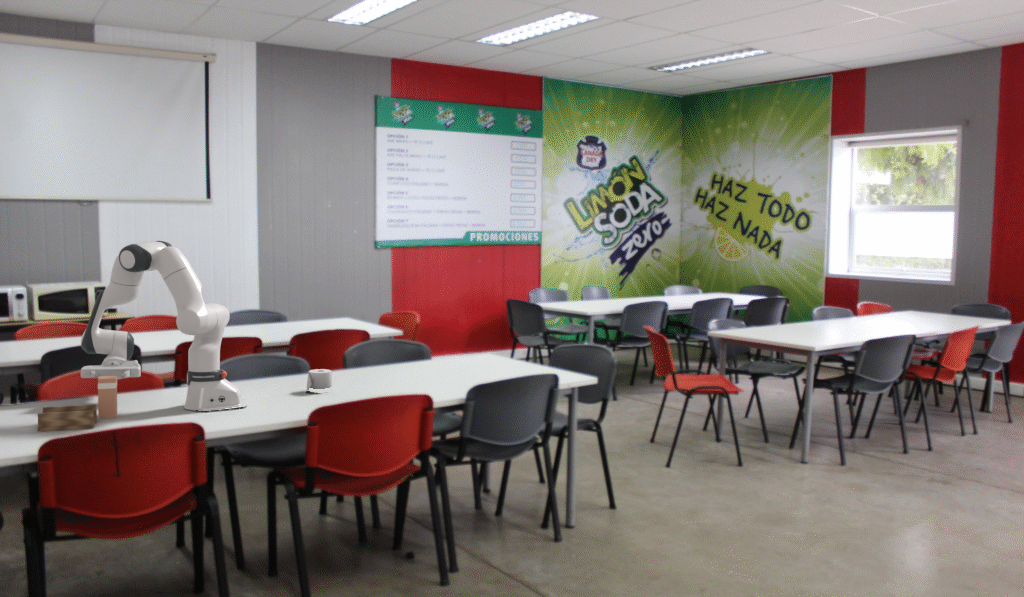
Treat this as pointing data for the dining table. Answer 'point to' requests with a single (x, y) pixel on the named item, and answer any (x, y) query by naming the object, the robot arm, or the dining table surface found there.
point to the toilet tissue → (319, 379)
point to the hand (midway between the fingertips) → (109, 375)
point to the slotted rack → (67, 418)
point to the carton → (107, 396)
